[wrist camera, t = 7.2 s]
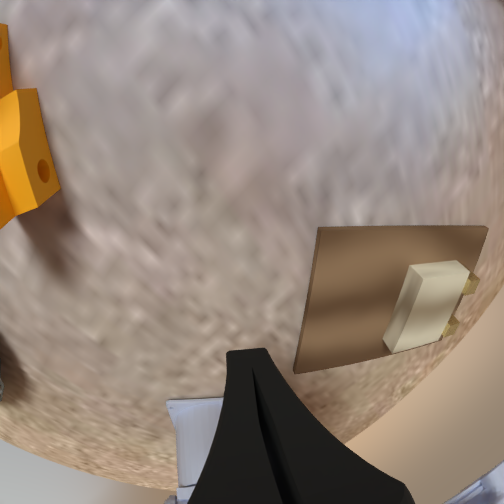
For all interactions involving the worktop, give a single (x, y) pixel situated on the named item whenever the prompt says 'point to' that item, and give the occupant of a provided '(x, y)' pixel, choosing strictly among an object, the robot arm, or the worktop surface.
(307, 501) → the robot arm
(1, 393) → the pie
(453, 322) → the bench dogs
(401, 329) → the ivory block
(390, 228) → the bench board
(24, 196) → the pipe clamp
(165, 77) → the worktop surface
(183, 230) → the worktop surface
